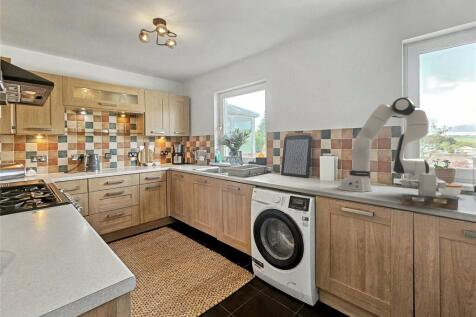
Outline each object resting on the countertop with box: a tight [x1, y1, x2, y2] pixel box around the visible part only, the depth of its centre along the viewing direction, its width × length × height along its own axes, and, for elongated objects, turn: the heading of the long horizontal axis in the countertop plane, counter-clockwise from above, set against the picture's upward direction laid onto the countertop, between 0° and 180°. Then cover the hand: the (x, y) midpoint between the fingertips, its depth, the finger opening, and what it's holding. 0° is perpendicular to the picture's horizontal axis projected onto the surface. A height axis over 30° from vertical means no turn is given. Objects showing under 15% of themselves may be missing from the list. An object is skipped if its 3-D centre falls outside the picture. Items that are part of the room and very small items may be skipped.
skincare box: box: [417, 173, 438, 197], centre depth 125 cm, size 8×6×15 cm
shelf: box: [398, 193, 459, 210], centre depth 123 cm, size 22×14×6 cm, turn 63°
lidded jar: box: [438, 181, 462, 198], centre depth 141 cm, size 11×11×9 cm
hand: (426, 185), depth 124 cm, fingers open, 7 cm apart
